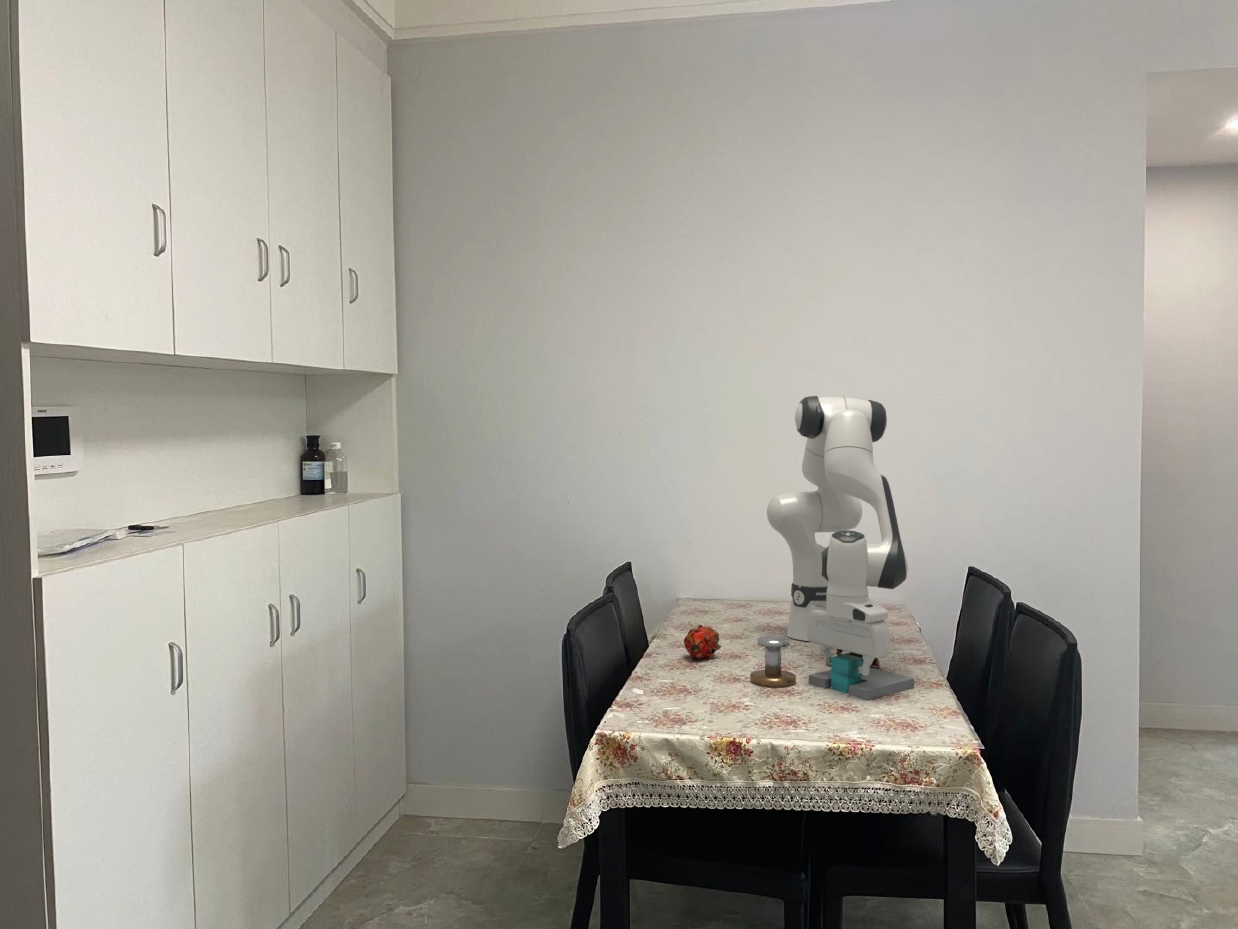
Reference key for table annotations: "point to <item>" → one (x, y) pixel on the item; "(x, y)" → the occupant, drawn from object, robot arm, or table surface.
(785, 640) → the bobbin post
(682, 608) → the table surface
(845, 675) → the block
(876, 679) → the notched board
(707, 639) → the dragon fruit
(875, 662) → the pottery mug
